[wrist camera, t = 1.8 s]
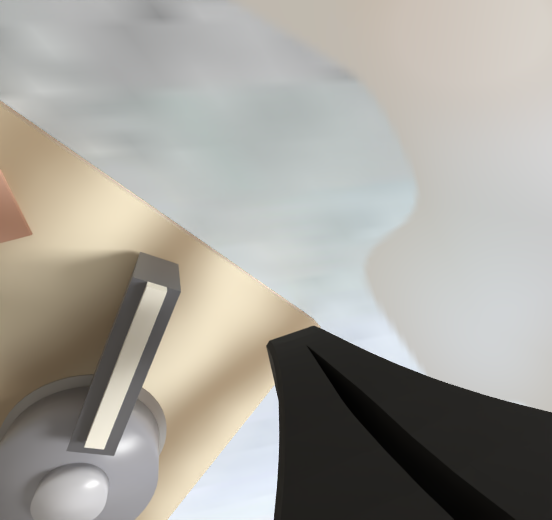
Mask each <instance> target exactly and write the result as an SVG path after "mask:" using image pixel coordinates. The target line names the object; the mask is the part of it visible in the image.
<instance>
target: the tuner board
mask: <svg viewBox="0 0 552 520" xmlns="http://www.w3.org/2000/svg"><path fill="white" fill-rule="evenodd" d="M140 252H143V253H146V254H149V255H152V256H155V257H158V258H161V259H164V260H167V261H170V262H173V263H176V264H179V275H180V286H181V293H180V295H179V298H178V300H177V303H176V305H175V308H174V310H173V313H172V315H171V317H170V320H169V322H168V325H167V327H166V330H165V332H164V335H163V337H162V339H161V342H160V344H159V347H158V349H157V352H156V354H155V357H154V359H153V362H152V364H151V366H150V369H149V371H148V374H147V376H146V379H145V381H144V384H143V386H142V389H141V391H140V393H139V396H138V398H137V399H139V400H140V401H142V402H143V403H144V404H145V405H146V406H147V407H148V408H149V409H150V410H151V412H152V413H153V415H154V416H155V418H156V420H157V423H158V426H159V433H160V438H159V470H158V482H157V487H156V490H155V492H154V495H153V497H152V499H151V501H150V502H149V504H148V505H147V507H146V508H145V509H144V510H143V511H142V513H141V514H140V515H139V516H138V517H137V518H136V519H135V520H167V519H168V518H169V517H170V516H171V514H172V513H173V512H174V511H175V509H176V508H177V507H178V506H179V504H180V503H181V502H182V500H183V499H184V498H185V497H186V495H187V494H188V493H189V492H190V490H191V489H192V488H193V487H194V485H195V484H196V483H197V482H198V480H199V479H200V478H201V477H202V475H203V474H204V473H205V472H206V470H207V469H208V468H209V467H210V465H211V464H212V463H213V462H214V460H215V459H216V458H217V457H218V455H219V454H220V453H221V451H222V450H223V449H224V448H225V446H226V445H227V444H228V443H229V441H230V440H231V439H232V438H233V436H234V435H235V434H236V433H237V431H238V430H239V429H240V428H241V426H242V425H243V424H244V423H245V421H246V420H247V419H248V418H249V416H250V415H251V414H252V413H253V411H254V410H255V409H256V408H257V406H258V405H259V404H260V402H261V401H262V400H263V399H264V397H265V396H266V395H267V394H268V392H269V391H270V390H271V389H272V387H273V386H274V385H275V383H274V378H273V374H272V369H271V365H270V361H269V356H268V352H267V348H266V345H267V344H268V342H269V341H270V340H272V339H275V338H278V337H281V336H284V335H287V334H290V333H293V332H296V331H299V330H302V329H305V328H308V327H311V326H316V327H319V328H320V326H319V325H318V324H317V323H316V321H315V320H314V319H313V318H312V317H310V316H309V315H307V314H306V313H304V312H303V311H301V310H300V309H299V308H297V307H296V306H294V305H293V304H291V303H290V302H289V301H287V300H286V299H284V298H283V297H281V296H280V295H279V294H277V293H276V292H274V291H273V290H271V289H270V288H268V287H267V286H266V285H264V284H263V283H261V282H260V281H258V280H257V279H256V278H254V277H253V276H251V275H250V274H248V273H247V272H246V271H244V270H243V269H241V268H240V267H238V266H237V265H235V264H234V263H233V262H231V261H230V260H228V259H227V258H225V257H224V256H223V255H221V254H220V253H218V252H217V251H215V250H214V249H212V248H211V247H210V246H208V245H207V244H205V243H204V242H202V241H201V240H200V239H198V238H197V237H195V236H194V235H192V234H191V233H190V232H188V231H187V230H185V229H184V228H182V227H181V226H179V225H178V224H177V223H175V222H174V221H172V220H171V219H169V218H168V217H167V216H165V215H164V214H162V213H161V212H159V211H158V210H157V209H155V208H154V207H152V206H151V205H149V204H148V203H146V202H145V201H144V200H142V199H141V198H139V197H138V196H136V195H135V194H134V193H132V192H131V191H129V190H128V189H126V188H125V187H123V186H122V185H121V184H119V183H118V182H116V181H115V180H113V179H112V178H111V177H109V176H108V175H106V174H105V173H103V172H102V171H101V170H99V169H98V168H96V167H95V166H93V165H92V164H90V163H89V162H88V161H86V160H85V159H83V158H82V157H80V156H79V155H78V154H76V153H75V152H73V151H72V150H70V149H69V148H68V147H66V146H65V145H63V144H62V143H60V142H59V141H57V140H56V139H55V138H53V137H52V136H50V135H49V134H47V133H46V132H45V131H43V130H42V129H40V128H39V127H37V126H36V125H34V124H33V123H32V122H30V121H29V120H27V119H26V118H24V117H23V116H22V115H20V114H19V113H17V112H16V111H14V110H13V109H12V108H10V107H9V106H7V105H6V104H4V103H3V102H1V101H0V443H1V441H2V439H3V437H4V436H5V434H6V432H7V431H8V429H9V428H10V426H11V424H12V423H13V422H14V420H15V419H16V418H17V417H18V416H19V415H20V414H21V413H22V412H23V411H24V410H25V409H27V408H28V407H29V406H31V405H32V404H34V403H35V402H37V401H39V400H41V399H42V398H44V397H46V396H49V395H51V394H54V393H56V392H60V391H63V390H66V389H72V388H77V387H88V386H89V385H90V383H91V380H92V377H93V375H94V372H95V369H96V367H97V364H98V361H99V359H100V356H101V354H102V351H103V348H104V346H105V343H106V340H107V338H108V335H109V333H110V330H111V327H112V325H113V322H114V319H115V317H116V314H117V312H118V309H119V306H120V304H121V301H122V298H123V296H124V293H125V291H126V288H127V285H128V283H129V280H130V277H131V275H132V272H133V270H134V267H135V264H136V262H137V259H138V256H139V254H140Z"/></svg>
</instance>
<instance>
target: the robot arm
mask: <svg viewBox="0 0 552 520" xmlns="http://www.w3.org/2000/svg"><path fill="white" fill-rule="evenodd" d="M266 348H267V352H268V356H269V361H270V365H271V369H272V374H273V378H274V383H275V387H276V391H277V396H278V400H279V463H278V480H277V492H276V503H275V513H274V520H552V413H551V412H548V411H543V410H539V409H535V408H531V407H527V406H523V405H519V404H515V403H511V402H508V401H504V400H500V399H497V398H493V397H489V396H486V395H482V394H480V393H477V392H473V391H470V390H467V389H464V388H460V387H458V386H454V385H451V384H448V383H445V382H442V381H439V380H437V379H434V378H431V377H428V376H426V375H423V374H421V373H418V372H415V371H413V370H410V369H408V368H405V367H403V366H400V365H398V364H395V363H393V362H391V361H388V360H386V359H384V358H381V357H379V356H377V355H375V354H372V353H370V352H368V351H366V350H364V349H362V348H360V347H357V346H355V345H353V344H351V343H349V342H347V341H345V340H343V339H341V338H339V337H337V336H335V335H333V334H331V333H329V332H327V331H325V330H323V329H321V328H319V327H316V326H311V327H308V328H305V329H302V330H299V331H296V332H293V333H290V334H287V335H284V336H281V337H278V338H275V339H272V340H270V341H269V342H268V344H267V345H266Z"/></svg>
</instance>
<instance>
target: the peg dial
mask: <svg viewBox="0 0 552 520" xmlns="http://www.w3.org/2000/svg"><path fill="white" fill-rule="evenodd" d="M180 293H181V286H180V275H179V264H176V263H173V262H170V261H167V260H164V259H161V258H158V257H155V256H152V255H149V254H146V253H143V252H140V254H139V256H138V259H137V262H136V264H135V267H134V270H133V272H132V275H131V277H130V280H129V283H128V285H127V288H126V291H125V293H124V296H123V298H122V301H121V304H120V306H119V309H118V312H117V314H116V317H115V319H114V322H113V325H112V327H111V330H110V333H109V335H108V338H107V340H106V343H105V346H104V348H103V351H102V354H101V356H100V359H99V361H98V364H97V367H96V369H95V372H94V375H93V377H92V380H91V383H90V385H89V386H88V387H77V388H72V389H66V390H63V391H60V392H56V393H54V394H51V395H49V396H46V397H44V398H42V399H41V400H39V401H37V402H35V403H34V404H32V405H31V406H29V407H28V408H27V409H25V410H24V411H23V412H22V413H21V414H20V415H19V416H18V417H17V418H16V419H15V420H14V422H13V423H12V424H11V426H10V428H9V429H8V431H7V432H6V434H5V436H4V437H3V439H2V441H1V443H0V520H135V519H136V518H137V517H138V516H139V515H140V514H141V513H142V511H143V510H144V509H145V508H146V507H147V505H148V504H149V502H150V501H151V499H152V497H153V495H154V492H155V490H156V487H157V482H158V470H159V438H160V433H159V426H158V423H157V420H156V418H155V416H154V415H153V413H152V412H151V410H150V409H149V408H148V407H147V406H146V405H145V404H144V403H143V402H142V401H140V400H139V399H137V398H138V396H139V393H140V391H141V389H142V386H143V384H144V381H145V379H146V376H147V374H148V371H149V369H150V366H151V364H152V362H153V359H154V357H155V354H156V352H157V349H158V347H159V344H160V342H161V339H162V337H163V335H164V332H165V330H166V327H167V325H168V322H169V320H170V317H171V315H172V313H173V310H174V308H175V305H176V303H177V300H178V298H179V295H180Z"/></svg>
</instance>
